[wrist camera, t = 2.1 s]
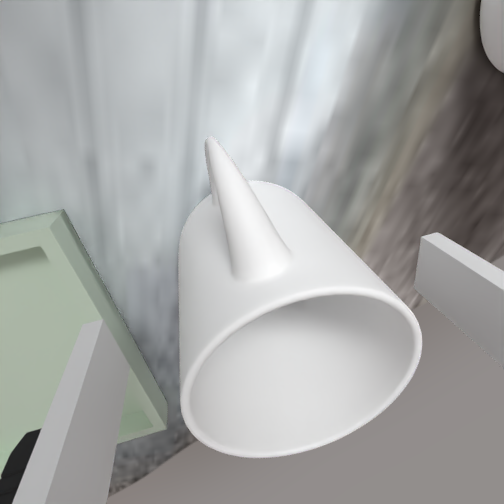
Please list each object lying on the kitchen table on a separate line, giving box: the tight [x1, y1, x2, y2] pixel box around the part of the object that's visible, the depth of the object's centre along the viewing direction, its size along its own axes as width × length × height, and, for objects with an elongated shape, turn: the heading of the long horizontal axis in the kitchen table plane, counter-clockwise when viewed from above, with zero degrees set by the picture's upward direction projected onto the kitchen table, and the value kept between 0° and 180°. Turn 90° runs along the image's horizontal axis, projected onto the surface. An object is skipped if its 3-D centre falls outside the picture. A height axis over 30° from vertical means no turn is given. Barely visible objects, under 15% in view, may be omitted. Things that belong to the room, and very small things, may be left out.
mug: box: [178, 137, 422, 458], centre depth 14 cm, size 9×12×11 cm
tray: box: [0, 209, 168, 479], centre depth 19 cm, size 18×15×2 cm
